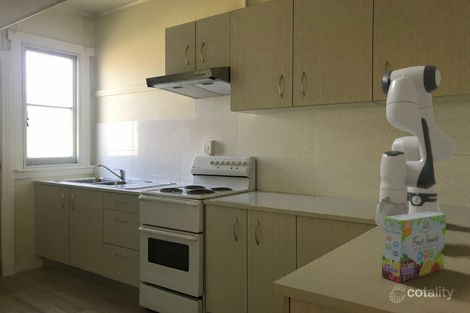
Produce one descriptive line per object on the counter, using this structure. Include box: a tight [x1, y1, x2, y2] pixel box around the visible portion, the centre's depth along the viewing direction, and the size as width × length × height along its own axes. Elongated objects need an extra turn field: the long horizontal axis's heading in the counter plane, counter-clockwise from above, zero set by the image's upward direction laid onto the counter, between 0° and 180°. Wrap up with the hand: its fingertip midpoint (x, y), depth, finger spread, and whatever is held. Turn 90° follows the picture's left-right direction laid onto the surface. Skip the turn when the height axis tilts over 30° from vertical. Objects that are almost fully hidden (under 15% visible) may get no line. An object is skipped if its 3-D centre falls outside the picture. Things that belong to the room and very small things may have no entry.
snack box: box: [381, 212, 447, 283], centre depth 97 cm, size 21×6×15 cm, turn 126°
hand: (391, 235), depth 134 cm, fingers closed
